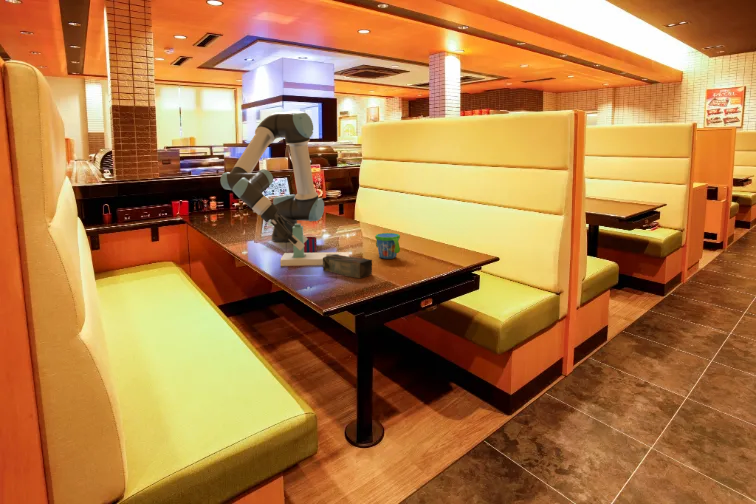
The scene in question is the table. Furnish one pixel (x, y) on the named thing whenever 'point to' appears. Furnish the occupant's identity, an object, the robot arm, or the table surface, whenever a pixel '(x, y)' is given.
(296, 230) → the plug
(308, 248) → the cup
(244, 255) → the table surface
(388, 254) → the sippy cup
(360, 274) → the beverage carton
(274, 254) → the table surface
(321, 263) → the socket panel
